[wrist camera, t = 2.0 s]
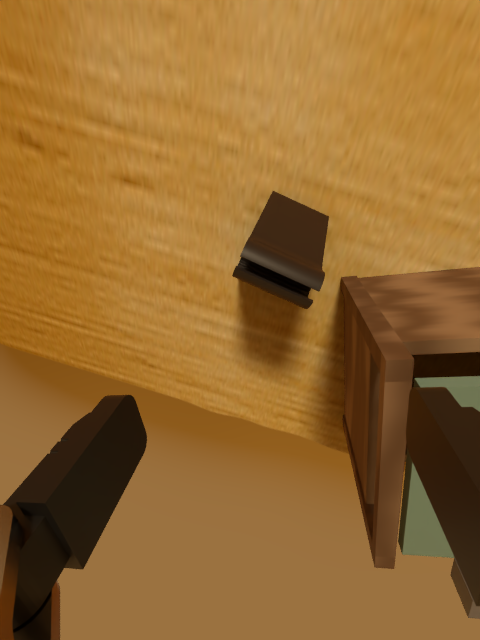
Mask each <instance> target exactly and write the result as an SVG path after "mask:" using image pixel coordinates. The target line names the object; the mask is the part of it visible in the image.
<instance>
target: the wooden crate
mask: <svg viewBox="0 0 480 640" xmlns="http://www.w3.org/2000/svg"><path fill="white" fill-rule="evenodd" d="M341 291H342V293H343V295H344V367H345V415H344V416H343V427H344V432H345V436H346V441H347V445H348V450H349V454H350V458H351V463H352V467H353V472H354V477H355V481H356V486H357V490H358V494H359V499H360V504H361V508H362V513H363V517H364V522H365V526H366V531H367V535H368V540H369V544H370V549H371V553H372V558H373V561H374V567H376V568H389V569H394V565H395V555H396V544H397V534H398V524H399V513H400V503H401V493H402V482H403V472H404V462H406V459H407V449H408V447H407V442H406V424H407V414H408V403H409V393H410V390H411V389H412V378H413V368H414V358H413V356H412V355H419V354H441V353H463V352H480V267H475V268H464V269H453V270H442V271H431V272H420V273H409V274H398V275H387V276H376V277H365V278H357V276H351V277H341Z"/></svg>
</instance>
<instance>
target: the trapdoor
mask: <svg viewBox="0 0 480 640" xmlns="http://www.w3.org/2000/svg"><path fill="white" fill-rule="evenodd" d="M418 387H445V388H447V389H448V390H449V391H450V393H451V394H452V395H453V397H454V398H455V399H456V401H457V402H458V403H459V405H460V406H461V407H473V408H475V409H476V410H478V411H479V412H480V376H464V377H433V378H414V388H418ZM398 542H399V545H400V548H401V552H402V554H404V555H420V556H434V557H451V558H454V562H453V566H452V571H451V577H452V579H453V582H454V584H455V587H456V589H457V592H458V594H459V596H460V598H461V601H462V604H463V606H464V609H465V611H466V613H467V616H468V618H477V619H480V606H476V605H475V602H474V600H473V598H472V596H471V593H470V591H469V589H468V586H467V584H466V582H465V580H464V577H463V575H462V573H461V571H460V568H459V566H458V564H457V562H456V559H455V557H454V555H453V552H452V550H451V548H450V546H449V543H448V541H447V539H446V537H445V534H444V532H443V530H442V528H441V525H440V523H439V521H438V518H437V516H436V514H435V512H434V509H433V507H432V505H431V503H430V500H429V498H428V496H427V494H426V491H425V489H424V487H423V484H422V482H421V480H420V478H419V475H418V473H417V471H416V469H415V466H414V464H413V462H412V460H411V457H410V455H409V451H408V449H407V459H406V469H405V480H404V489H403V499H402V509H401V520H400V529H399V540H398Z"/></svg>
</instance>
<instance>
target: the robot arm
mask: <svg viewBox="0 0 480 640" xmlns="http://www.w3.org/2000/svg"><path fill="white" fill-rule="evenodd" d="M406 442H407V447H408V451H409V455H410V457H411V460H412V462H413V464H414V466H415V469H416V471H417V473H418V475H419V478H420V480H421V482H422V484H423V487H424V489H425V491H426V494H427V496H428V498H429V500H430V503H431V505H432V507H433V509H434V512H435V514H436V516H437V518H438V521H439V523H440V525H441V528H442V530H443V532H444V534H445V537H446V539H447V541H448V543H449V546H450V548H451V550H452V552H453V555H454V557H455V559H456V562H457V564H458V566H459V568H460V571H461V573H462V575H463V577H464V580H465V582H466V584H467V586H468V589H469V591H470V593H471V596H472V598H473V600H474V602H475V605H476V606H480V412H479V411H478V410H476V409H475V408H473V407H461V406H460V405H459V403H458V402H457V401H456V399H455V398H454V397H453V395H452V394H451V393H450V391H449V390H448V389H447V388H445V387H418V388H412V389H411V390H410V393H409V403H408V414H407V424H406ZM146 443H147V435H146V431H145V428H144V425H143V422H142V419H141V416H140V413H139V410H138V407H137V404H136V401H135V399H134V397H133V396H131V395H110V396H105V397H104V398H103V399H102V400H101V401H100V402H99V404H98V405H97V406H96V407H95V408H94V409H93V411H92V412H91V413H88V414H87V415H85V416H84V417H83V418H81V419H80V420H79V421H77V422H76V423H75V424H73V425H72V426H71V428H70V429H69V430H68V431H67V432H66V433H65V435H64V436H63V437H62V438H61V441H60V442H57V444H56V445H55V446H54V447H53V448H52V449H51V452H50V454H47V455H46V456H45V458H44V459H43V460H42V461H41V462H40V463H39V464H38V466H37V467H36V468H35V469H34V470H33V471H32V472H31V473H30V475H29V476H28V477H27V478H26V479H25V480H24V481H23V483H22V484H21V485H20V486H19V487H18V488H17V489H16V491H15V492H14V493H13V494H12V495H11V496H10V498H9V499H8V500H7V501H6V502H5V503H4V504H3V505H0V640H60V586H59V583H58V581H57V579H58V577H59V576H60V574H61V572H62V570H63V569H64V568H73V569H83V568H84V567H85V564H86V563H87V561H88V559H89V557H90V555H91V553H92V551H93V549H94V548H95V546H96V544H97V542H98V540H99V538H100V536H101V534H102V532H103V530H104V528H105V527H106V525H107V523H108V521H109V519H110V517H111V515H112V513H113V511H114V509H115V507H116V505H117V504H118V502H119V500H120V498H121V496H122V494H123V492H124V490H125V488H126V486H127V485H128V483H129V481H130V479H131V477H132V475H133V473H134V471H135V469H136V467H137V465H138V464H139V461H140V460H141V458H142V456H143V454H144V451H145V448H146Z"/></svg>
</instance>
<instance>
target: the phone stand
mask: <svg viewBox="0 0 480 640" xmlns="http://www.w3.org/2000/svg"><path fill="white" fill-rule="evenodd" d="M328 219H329V216H326V215H324V214H322V213H320V212H318V211H316V210H313V209H311V208H309V207H307V206H305V205H303V204H300V203H298V202H296V201H294V200H292V199H290V198H287V197H285V196H283V195H281V194H279V193H277V192H274V191H273V192H272V194H271V196H270V198H269V200H268V202H267V204H266V206H265V208H264V210H263V212H262V214H261V216H260V218H259V220H258V222H257V224H256V226H255V228H254V230H253V232H252V234H251V236H250V237H249V238H248V240H247V242H246V244H245V247H244V249H243V251H242V253H241V259H240V261H239V264H238V266H236V268H235V270H234V273H233V275H232V276H233V277H235V278H238V279H240V280H242V281H244V282H246V283H249V284H251V285H253V286H255V287H258V288H260V289H262V290H264V291H267V292H269V293H271V294H273V295H276V296H278V297H280V298H282V299H285V300H287V301H289V302H291V303H294V304H296V305H298V306H300V307H302V308H305V309H308V308H309V307H310V306H311V305H312V303H313V300H311V299H309V298H308V295H309V291H310V290H311V288H312V289H314V290H316V291H320V289H321V286H322V284H323V281H324V277H325V273H324V272H323V270H322V262H323V255H324V248H325V241H326V233H327V226H328Z"/></svg>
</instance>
